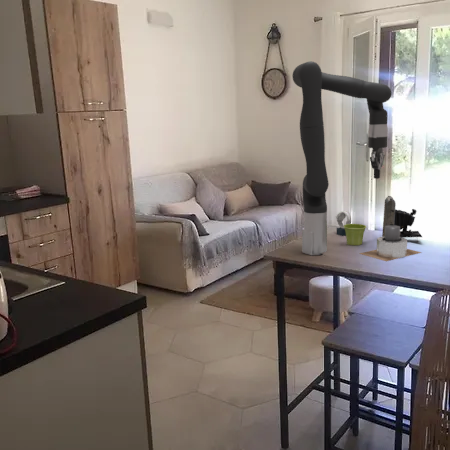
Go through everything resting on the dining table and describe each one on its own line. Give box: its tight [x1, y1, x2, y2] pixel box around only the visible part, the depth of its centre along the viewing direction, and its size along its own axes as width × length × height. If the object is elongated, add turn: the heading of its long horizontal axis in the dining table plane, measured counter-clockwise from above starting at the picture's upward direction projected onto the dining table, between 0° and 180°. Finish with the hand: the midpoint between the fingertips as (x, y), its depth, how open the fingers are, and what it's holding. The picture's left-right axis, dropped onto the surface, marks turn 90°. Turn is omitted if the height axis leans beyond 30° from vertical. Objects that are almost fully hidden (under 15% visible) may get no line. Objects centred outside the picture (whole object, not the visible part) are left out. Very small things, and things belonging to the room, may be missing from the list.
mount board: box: [358, 248, 423, 262], centre depth 198 cm, size 20×14×1 cm
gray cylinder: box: [384, 225, 401, 242], centre depth 194 cm, size 6×6×8 cm
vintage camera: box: [381, 195, 423, 243], centre depth 215 cm, size 10×16×20 cm, turn 78°
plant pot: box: [343, 223, 367, 246], centre depth 213 cm, size 9×9×9 cm
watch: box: [335, 210, 352, 237], centre depth 234 cm, size 6×8×11 cm
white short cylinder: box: [376, 236, 408, 259], centre depth 195 cm, size 11×11×6 cm
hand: (376, 178), depth 206 cm, fingers closed
